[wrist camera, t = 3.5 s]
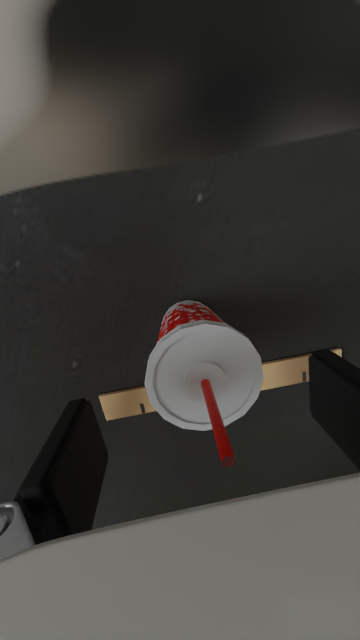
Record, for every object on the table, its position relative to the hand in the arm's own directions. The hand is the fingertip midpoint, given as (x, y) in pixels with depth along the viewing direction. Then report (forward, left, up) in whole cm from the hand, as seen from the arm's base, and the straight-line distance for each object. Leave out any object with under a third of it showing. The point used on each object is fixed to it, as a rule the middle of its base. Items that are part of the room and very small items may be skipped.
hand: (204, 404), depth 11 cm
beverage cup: (0, 0, -12) cm, 12 cm away
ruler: (-2, +6, -11) cm, 13 cm away
